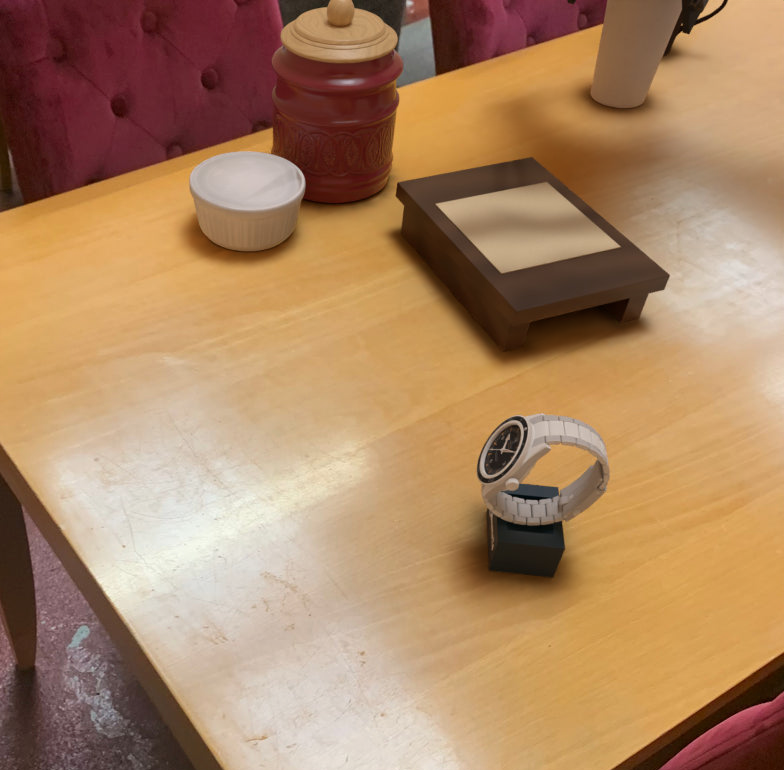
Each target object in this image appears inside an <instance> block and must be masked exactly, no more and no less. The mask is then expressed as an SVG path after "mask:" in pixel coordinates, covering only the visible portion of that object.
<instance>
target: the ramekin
mask: <svg viewBox="0 0 784 770" xmlns="http://www.w3.org/2000/svg"><path fill="white" fill-rule="evenodd" d="M188 187H189V192H190V195H191V197H192V199H193V203H194V209H195V213H196V217H197V221H198V225H199V228H200V229H201V231H202V233H203V234H204V235H205V237H207V238H208V239H209V240H210V241H211V242H212V243H214V244H215V245H217V246H218V247H222V248H225V249H228V250H232V251H236V252H258V251H265V250H268V249H271V248H274V247H277V246H278V245H281V244H282V243H283V242H285V241H286V240H287V239H288V238H289V237H290V236H291V235H292V233H293V232H294V230H295V227H296V225H297V222H298V219H299V218H298V217H299V213H300V209H301V204H302V200H303V199H304V198H303V196H304V193H305V178H304V175H303V173H302V172H301V170H300V169H299V168H298V167H297V166H296V165H294V164H293V163H291V162H290V161H288V160H286V159H284V158H282V157H279V156H276V155H272V154H271V153H267V152H261V151H249V150H244V151H243V150H241V151H240V150H239V151H231V152H225V153H219V154H217V155H214V156H211V157H209V158H207V159H205V160H203V161H202V162H200V163H199V164H197V165H196V166H195V167H193V169H192V171H191V172H190V174H189V178H188Z"/></svg>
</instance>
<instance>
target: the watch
mask: <svg viewBox="0 0 784 770" xmlns="http://www.w3.org/2000/svg"><path fill="white" fill-rule="evenodd" d="M560 444H561V445H562V446H568V447H575V448H577V449H580V450H583V451H587V453H589V454H590V455H592V456H593V457H594V458H596V460H595V462H594V464H591V465H590V466H588V468H587V469H586V470H585V471H584V472H583V473H582V474H581V475H579V477H578V478H576V479H575V480H573V481H572V482H571V483H570V484H568V485H566V486H565V487H564V488H562V489H559V487H558V486H551V485H540V484H532V483H531V484H530V483H522V482H523V481H525V479H526V478H527V477H528V476H529V475H530V474H531V472H532V470H533V469H534V467H535V466H536V464H537V463H538V461H539V460H540V459H542V458H543V457H544V456H546V455H547V454H549V453H550V452H551V450H552V446H558V445H560ZM610 473H611V470H610V465H609V458H608V453H607V447H606V443H605V441H604V439H603V438H602V436H601V434H600V433H599V432H598V431H597V430H596V429H595V428H594V427H592V426H591V425H590V424H589V423H586V422H584V421H582V420H580V419H577V418H573V417H570V416H565V415H556V414H545V413H543V412H542V413H535V414H530V415H527V416H524V415H520V414H516V415H515V414H514V415H512V416H510V417H508V418H506V419H505V420H503V421H502V422H501V423H499V424H498V425H497V426H496V428H494V430H493V431H492V432H491V433H490V435H489V436H488V437H487V439H486V441H485V442H484V444H483V446H482V448H481V450H480V453H479V455H478V458H477V463H476V477H477V480H478V481H479V482H480V485H481V486H480V487H481V489H480V490H481V491H480V492H481V493H480V494H481V498H482V501H483V503H484V505H485V506H486V527H487V528H486V531H487V553H488V554H487V555H488V571H489V572H496V573H497V572H498V573H506V574H507V573H508V574H518V575H525V576H526V575H527V576H535V577H536V576H537V577H545V578H554V577H555V574H556V572H557V570H558V567H559V565H560V563H561V559H562V557H563V555H564V552H565V549H566V543H565V535H564V526H563V521H565V523H567V522H569V521H570V520H572V519H574V518H576V517H577V516H579V515H581V514H582V513H583V512H585V511H587V509H588V510H589V508H591V507H592V506H593V505H594V504H595V503H596V502H597V501H598V500H599V499H600V498H601V497H602V496H603V495H604V494H606V492H607V490H608V484H609V481H610V477H611V474H610Z"/></svg>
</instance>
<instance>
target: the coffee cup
mask: <svg viewBox="0 0 784 770" xmlns="http://www.w3.org/2000/svg"><path fill="white" fill-rule="evenodd" d="M606 1H607V2H606V7H605V11H604V12H605V13H604V18H603V22H602V27H601V28H602V29H601V34H600V39H599V45H598V50H597V55H596V61H595V65H594V70H593V71H594V72H593V77H592V82H591V88H590V93H589V94H590V97H591V98H592V99H593V100H594V101H595V102H597V103H599V104H601V105H603V106H606V107H611V108H616V109H633V108H636V107H639V106H642V105H643V104H644V102H645V101H646V98H647V96H648V93H649V90H650V88H651V86H652V83H653V81H654V78H655V76H656V73H657V71H658V69H659V67H660V63H661V61H662V59H663V57H664V56H663V54H664V52H665V49H666V47H667V44H668V42H669V39H670V37H671V35H672V32H673V30H674V27H675V25H676V23H677V20H678V18H679V15H680V13H681V10H682V0H606Z"/></svg>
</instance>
